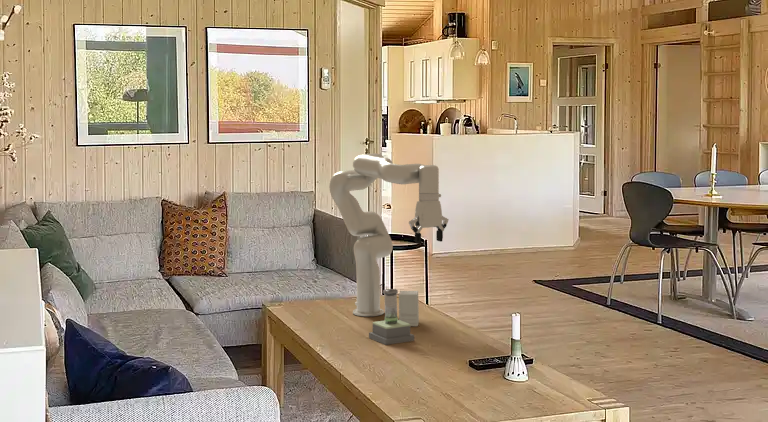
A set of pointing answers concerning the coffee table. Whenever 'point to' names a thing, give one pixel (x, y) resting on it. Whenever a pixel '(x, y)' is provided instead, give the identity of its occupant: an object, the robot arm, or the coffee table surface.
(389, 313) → the clear jar with lid
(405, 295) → the supplement box
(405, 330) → the pedestal
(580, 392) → the coffee table surface
